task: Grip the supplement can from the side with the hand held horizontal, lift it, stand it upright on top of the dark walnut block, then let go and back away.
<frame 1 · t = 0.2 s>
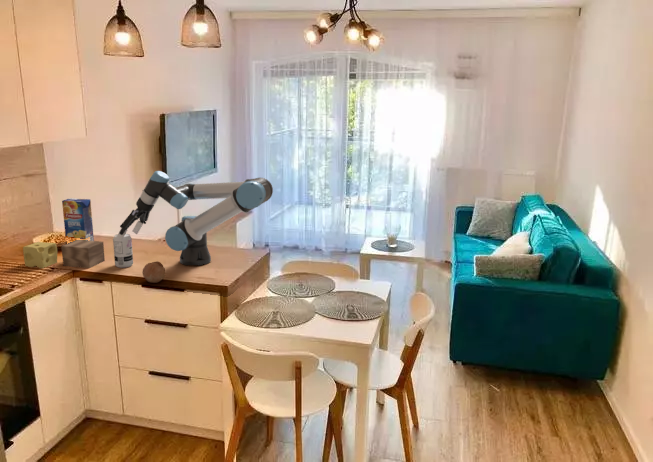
hand: (126, 235, 248), 14 cm above the worktop, tool tilted 35°, fingers open, 13 cm apart
cheese: (41, 264, 248), on the worktop
supplement can: (124, 265, 250), on the worktop
onion: (154, 281, 230), on the worktop
walnut block: (84, 263, 252), on the worktop
juice carton: (80, 242, 287), on the worktop
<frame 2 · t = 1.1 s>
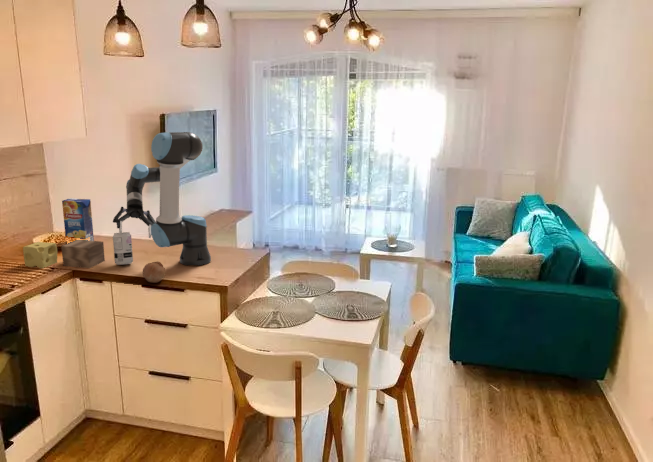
hand: (135, 234, 247), 15 cm above the worktop, tool tilted 55°, fingers open, 13 cm apart
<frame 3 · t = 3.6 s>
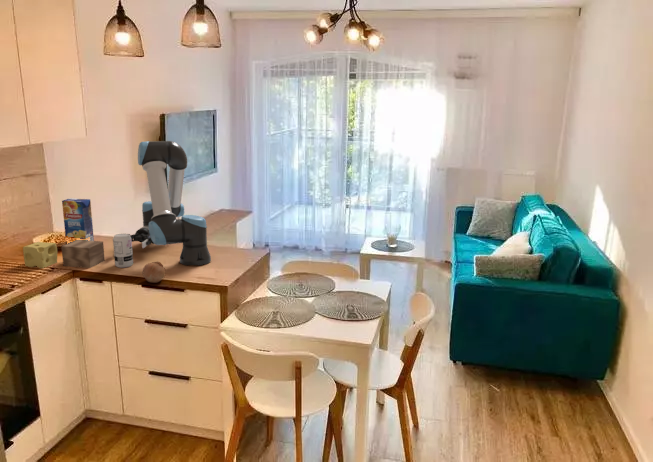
hand: (129, 244, 256), 8 cm above the worktop, tool horizontal, fingers open, 13 cm apart
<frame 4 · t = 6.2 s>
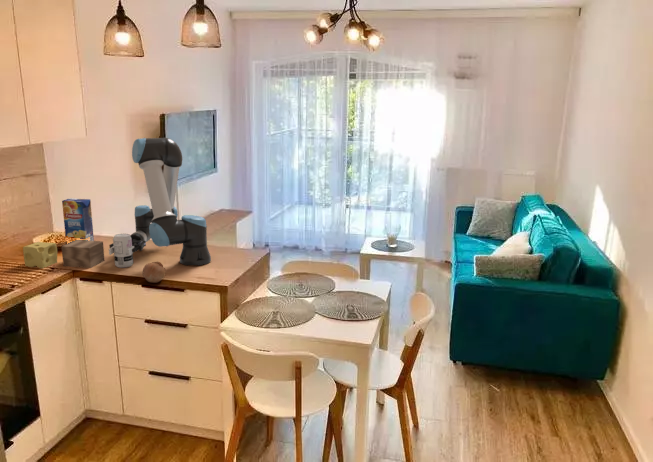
hand: (119, 252, 244), 8 cm above the worktop, tool horizontal, fingers closed on supplement can, 8 cm apart
supplement can: (124, 265, 250), on the worktop, touching gripper
everything else where it was.
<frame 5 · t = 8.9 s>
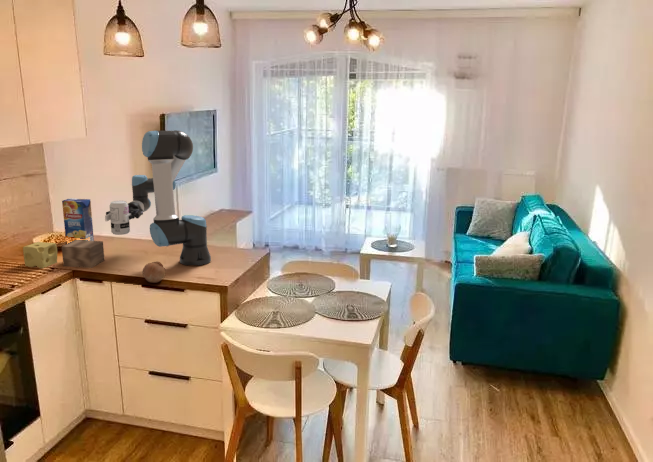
hand: (115, 218, 240), 24 cm above the worktop, tool horizontal, fingers closed on supplement can, 8 cm apart
supplement can: (120, 233, 247), point 16 cm above the worktop, touching gripper
everything else where it was.
when the fingers open (19 cm above the worktop, at t = 11.5 s): supplement can drops 2 cm, resting on walnut block.
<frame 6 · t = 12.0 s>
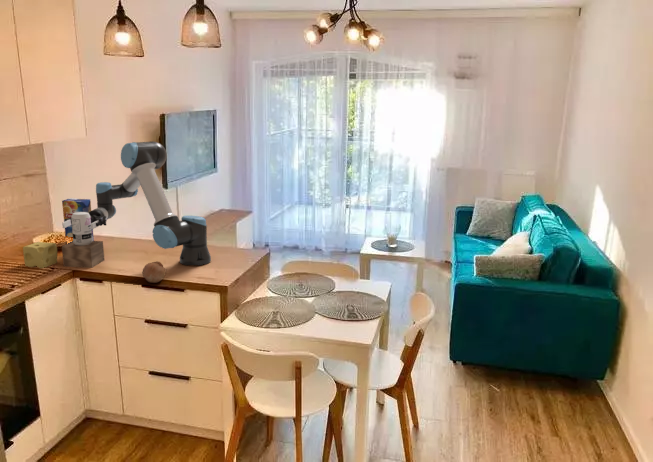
hand: (77, 225, 244), 19 cm above the worktop, tool horizontal, fingers open, 13 cm apart
supplement can: (82, 244, 249), point 10 cm above the worktop, touching walnut block
walnut block: (84, 263, 252), on the worktop, touching supplement can
everything else where it was.
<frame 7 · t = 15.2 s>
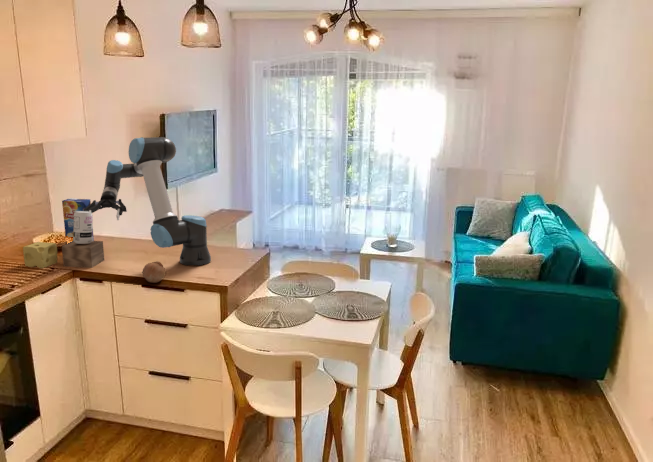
hand: (102, 218, 256), 20 cm above the worktop, tool tilted 70°, fingers open, 13 cm apart
supplement can: (82, 243, 249), point 10 cm above the worktop
walnut block: (84, 263, 252), on the worktop
everything else where it was.
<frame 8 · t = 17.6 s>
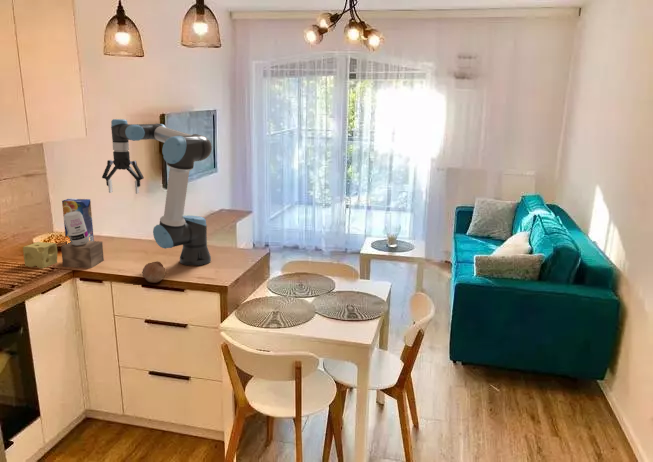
hand: (124, 192, 263), 32 cm above the worktop, tool pointing down, fingers open, 13 cm apart
supplement can: (80, 243, 248), point 10 cm above the worktop, touching walnut block
walnut block: (83, 263, 251), on the worktop, touching supplement can
everything else where it was.
at the end: supplement can inside the target area on the walnut block (0.5 cm from its centre), point 10.6 cm above the walnut block's base; supplement can tilted 11°; the gripper is holding nothing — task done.
